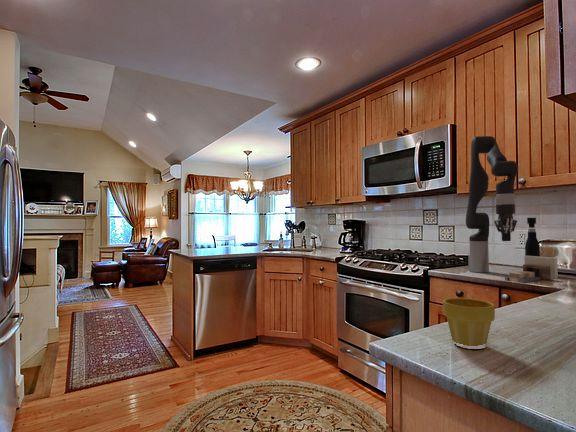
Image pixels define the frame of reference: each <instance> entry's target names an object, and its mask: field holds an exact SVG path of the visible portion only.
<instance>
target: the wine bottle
mask: <svg viewBox="0 0 576 432" xmlns="http://www.w3.org/2000/svg"><path fill="white" fill-rule="evenodd" d="M526 223H527V224H528V229H527V230H528V232H527V239H526V242H525V245H524V246H525V247H524V256H537V257H541V246H540V243H539V240H538V238H537V232H536V230H537V229H536V228H535V227H536V224H537V217H527V218H526Z"/></svg>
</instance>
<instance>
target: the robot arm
mask: <svg viewBox="0 0 576 432" xmlns="http://www.w3.org/2000/svg"><path fill="white" fill-rule="evenodd" d="M470 144H471V145H470V173H469V175H470V176H469V186H468V187H469V188H468V200H467V201H468V203H467V207H466V215H465V226H466V228H467V229H468V230H478V231H477V232H476V233H475V234H471V235H470V236H469V239H468V240H469V253H468V254H467V256H468V257H467V260H468V262H467V263H468V271H469V272H470V273H471V272H472V273H484V274H485V273H489V272H490V257H489V253H490V252H489V237H490V216H489V214H488V213H486V212H477V208H478V205H479V203H480V202H481V201H482V200H483V198H484V196H485V195H486V193H487V192H488V189H489V180H490V179H489V175H488V173H487V171H486V170H485V168H484V167H483V165H482V163H481V160H480V157H479V156H480V154H487V155H486V160H487V162H488V164H489V165H490V168H491V169H490V172H491V175H493V176H494V177H498V178H499V177H506V179H505V180H502V181H498V182H496V184H495V214H496V215H498V216H497V219H496V220H494V225H495V227H496V230H497V232H498V233H501V241H502V242H511V240H512V239H511V238H512V236H511V235H512V232H514V231H515V229H516V226H517V223H518V220H517V219H514V216H513V215H514V214H516V197H515V181H516V177H517V174H518V171H519V170H518V169H519V166H518V163H517V162H516V161H514V160H508V159H507V157H506V156H505V155H504V154H503V153H502V151H501V150H500V147H499V144H498V142H497V140H496V138H495V137H493V136H492V135H479V136H474V137H472V140H471V143H470Z"/></svg>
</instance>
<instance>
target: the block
mask: <svg viewBox="0 0 576 432" xmlns="http://www.w3.org/2000/svg"><path fill="white" fill-rule="evenodd" d="M522 270H523V271H529V272H535V277H540V281H544V280H551V279H552V278H551V274H550V266H548V265H537V264H525V263H524V264H522ZM523 271H522V272H523Z"/></svg>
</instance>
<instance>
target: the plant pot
mask: <svg viewBox="0 0 576 432" xmlns="http://www.w3.org/2000/svg"><path fill="white" fill-rule="evenodd" d="M442 309H443V310H442V311H443V312H442V313H443V316H444V317H446V319H447V324H448V329H449V332H450V337H451V340H453V341H454V342H456V343H459V344H463V345H467V346H478V345H483V344H486V343H488V340H489V339H488V338H489V335H490V330H491V325H492V322H494V321H495V316H496V308H495V305H494V303H493V302H490V301H487V300H482V299H476V298H468V297H467V298H466V297H449V298H444V299H443V300H442ZM453 341H452V342H453ZM486 345H487V344H486Z"/></svg>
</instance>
